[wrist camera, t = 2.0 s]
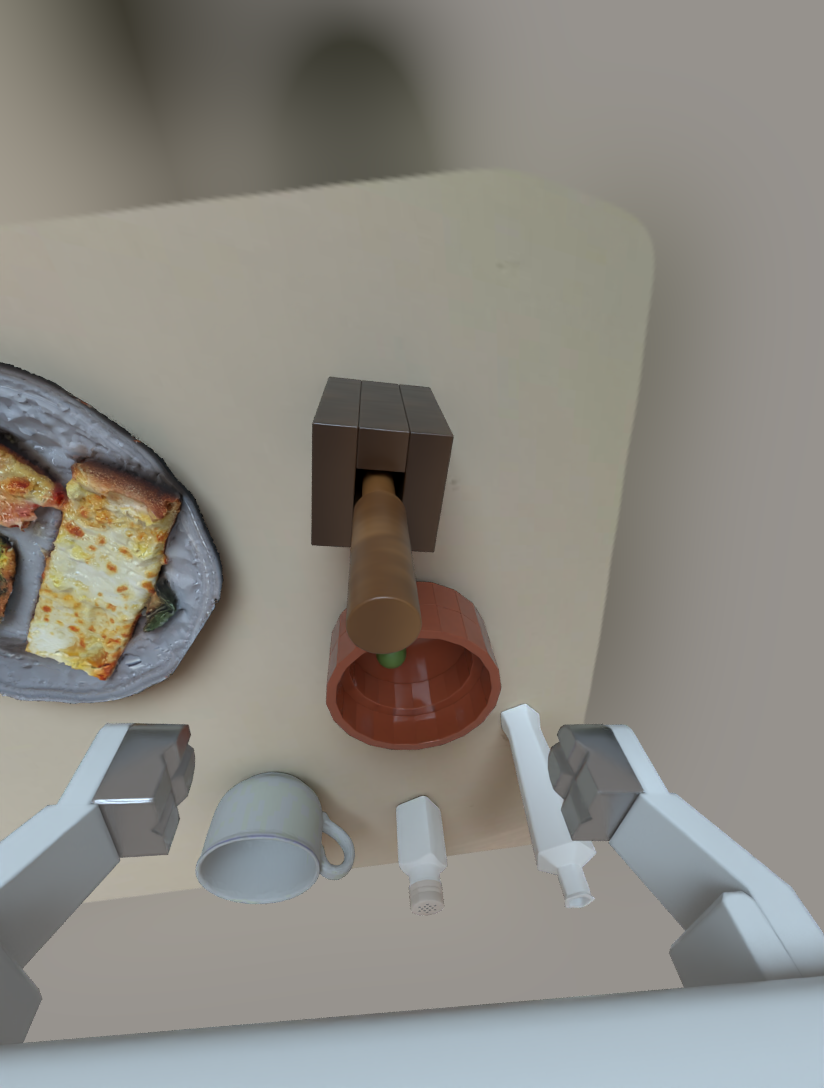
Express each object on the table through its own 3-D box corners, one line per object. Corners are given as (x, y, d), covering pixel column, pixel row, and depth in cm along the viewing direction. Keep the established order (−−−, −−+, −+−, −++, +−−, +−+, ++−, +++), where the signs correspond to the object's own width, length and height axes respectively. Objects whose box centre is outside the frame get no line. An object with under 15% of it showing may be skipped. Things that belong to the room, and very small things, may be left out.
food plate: (-159, 245, 22) (-244, 242, 19) (284, 495, 30) (274, 521, 27) (-202, 596, 31) (-263, 631, 28) (144, 711, 40) (126, 748, 37)
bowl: (497, 580, 35) (518, 634, 30) (468, 690, 42) (481, 750, 37) (334, 572, 34) (328, 627, 29) (330, 688, 40) (324, 750, 35)
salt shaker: (411, 819, 52) (419, 921, 44) (393, 804, 50) (398, 907, 42) (442, 808, 52) (455, 909, 44) (425, 791, 50) (436, 894, 42)
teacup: (205, 805, 48) (178, 895, 41) (241, 745, 43) (217, 835, 36) (328, 830, 52) (322, 915, 45) (372, 778, 48) (373, 864, 41)
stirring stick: (395, 415, 28) (427, 599, 13) (392, 450, 29) (417, 656, 14) (359, 412, 28) (347, 595, 12) (357, 447, 29) (344, 654, 14)
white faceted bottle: (504, 738, 46) (556, 922, 33) (489, 714, 44) (539, 900, 31) (548, 723, 45) (618, 904, 32) (534, 697, 43) (604, 881, 30)
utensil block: (430, 387, 27) (454, 435, 20) (417, 480, 30) (433, 553, 23) (328, 376, 27) (312, 422, 19) (326, 472, 30) (311, 545, 22)
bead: (406, 631, 37) (409, 653, 34) (403, 653, 38) (405, 675, 36) (377, 630, 36) (377, 652, 34) (374, 652, 37) (374, 675, 35)
